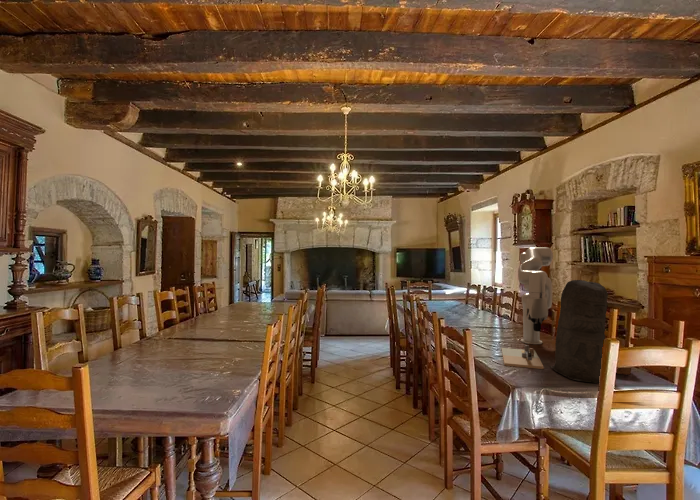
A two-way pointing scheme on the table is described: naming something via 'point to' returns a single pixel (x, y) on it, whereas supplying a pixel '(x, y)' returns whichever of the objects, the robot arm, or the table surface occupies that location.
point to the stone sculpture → (581, 331)
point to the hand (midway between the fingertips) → (537, 331)
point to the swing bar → (528, 355)
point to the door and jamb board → (521, 358)
